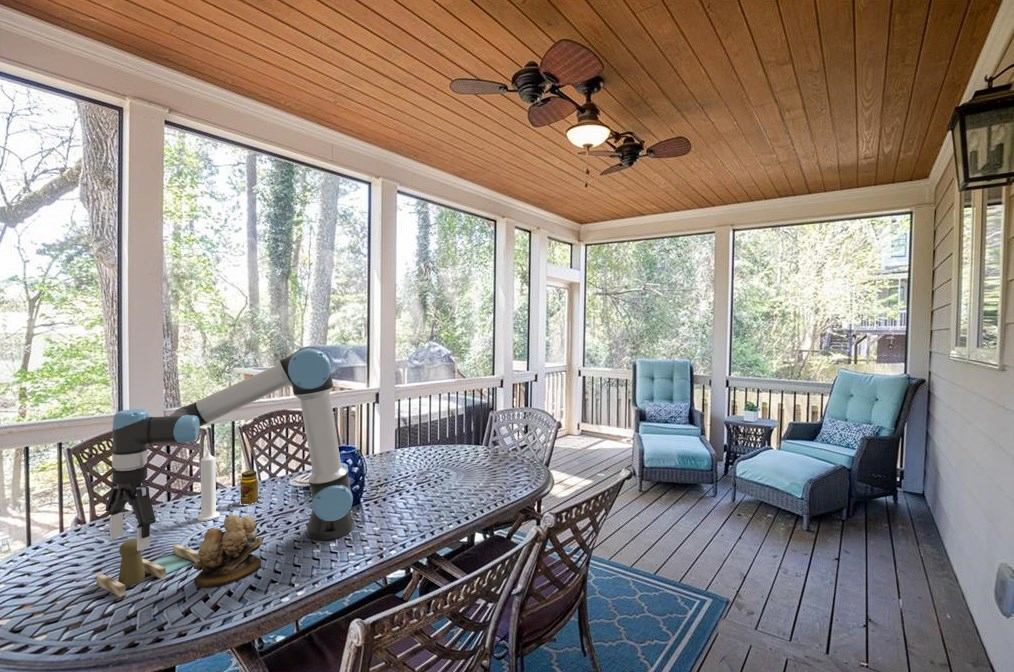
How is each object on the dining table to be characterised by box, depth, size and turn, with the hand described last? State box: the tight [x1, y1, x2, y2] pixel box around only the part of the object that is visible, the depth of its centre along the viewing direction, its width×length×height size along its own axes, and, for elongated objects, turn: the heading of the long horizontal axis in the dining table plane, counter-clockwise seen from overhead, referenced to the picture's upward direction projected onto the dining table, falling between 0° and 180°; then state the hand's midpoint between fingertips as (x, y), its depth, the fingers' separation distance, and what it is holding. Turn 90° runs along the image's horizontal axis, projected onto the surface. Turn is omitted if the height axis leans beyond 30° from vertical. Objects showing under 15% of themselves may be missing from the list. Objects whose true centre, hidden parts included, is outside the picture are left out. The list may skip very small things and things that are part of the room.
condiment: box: [240, 470, 262, 505], centre depth 188 cm, size 7×8×12 cm
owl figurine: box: [192, 514, 264, 589], centre depth 135 cm, size 18×12×17 cm, turn 142°
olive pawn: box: [117, 538, 146, 588], centre depth 131 cm, size 6×6×11 cm
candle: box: [196, 449, 221, 522], centre depth 172 cm, size 7×7×25 cm
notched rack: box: [95, 543, 200, 598], centre depth 139 cm, size 12×30×2 cm, turn 154°
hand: (129, 542), depth 130 cm, fingers open, 13 cm apart
